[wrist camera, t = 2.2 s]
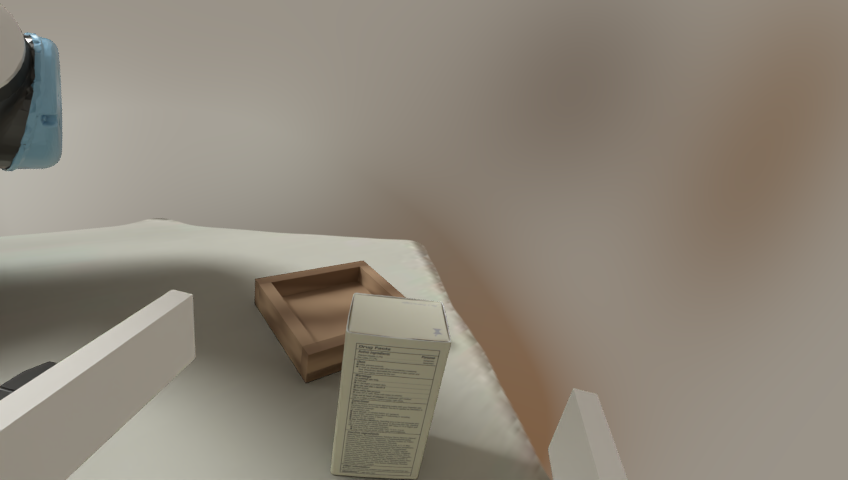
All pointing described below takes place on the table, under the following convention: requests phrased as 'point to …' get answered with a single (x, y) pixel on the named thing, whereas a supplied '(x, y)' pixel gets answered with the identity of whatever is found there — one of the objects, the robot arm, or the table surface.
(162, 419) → the table surface
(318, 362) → the tray
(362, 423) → the skincare box
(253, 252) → the table surface
